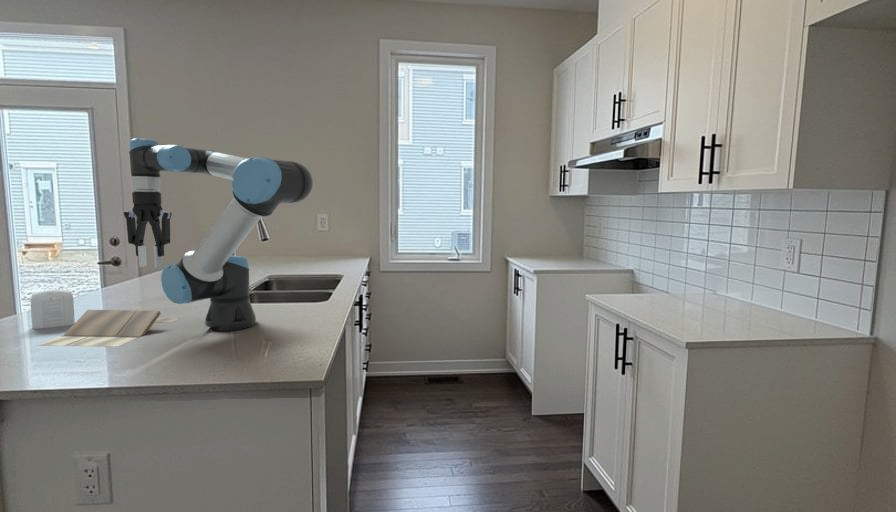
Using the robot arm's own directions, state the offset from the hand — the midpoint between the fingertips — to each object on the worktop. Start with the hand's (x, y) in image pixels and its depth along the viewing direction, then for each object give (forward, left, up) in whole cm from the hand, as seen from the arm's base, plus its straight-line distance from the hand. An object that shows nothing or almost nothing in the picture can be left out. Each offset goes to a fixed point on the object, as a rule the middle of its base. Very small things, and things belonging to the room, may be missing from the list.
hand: (150, 266), depth 148 cm
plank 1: (+7, +8, -17) cm, 20 cm away
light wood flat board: (+7, +18, -20) cm, 28 cm away
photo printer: (+29, +3, -20) cm, 35 cm away
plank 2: (+6, -5, -20) cm, 21 cm away
